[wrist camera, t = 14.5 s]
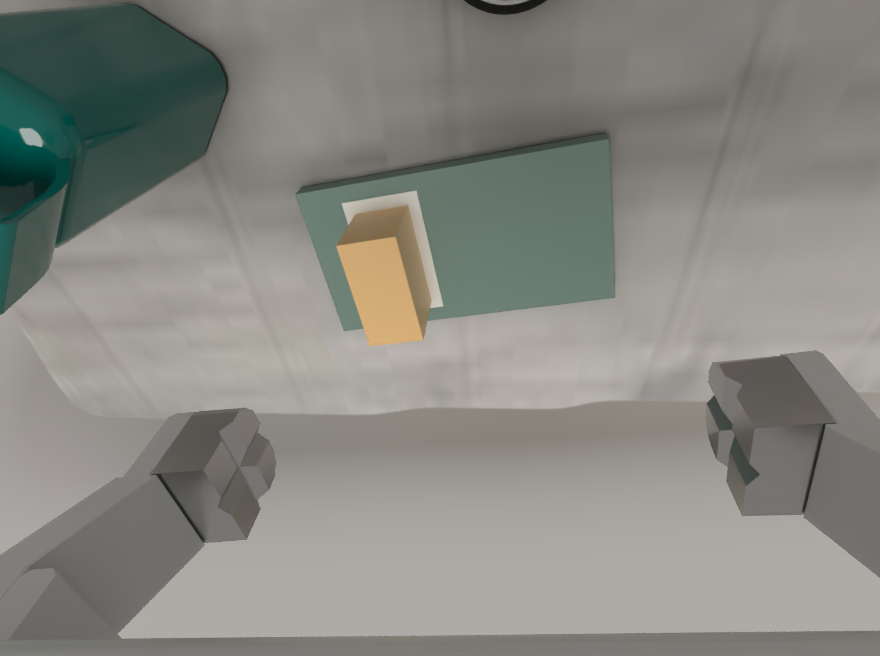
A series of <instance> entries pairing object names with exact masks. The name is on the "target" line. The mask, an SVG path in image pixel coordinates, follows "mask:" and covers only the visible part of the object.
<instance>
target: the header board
mask: <svg viewBox="0 0 880 656" xmlns="http://www.w3.org/2000/svg"><path fill="white" fill-rule="evenodd" d="M295 195H296V197H297V200H298V203H299V206H300V209H301V211H302V214H303V217H304V220H305V223H306V225H307V228H308V231H309V234H310V237H311V240H312V242H313V245H314V248H315V251H316V254H317V256H318V259H319V262H320V265H321V268H322V270H323V273H324V276H325V279H326V282H327V284H328V287H329V290H330V293H331V296H332V298H333V301H334V304H335V307H336V310H337V313H338V315H339V318H340V321H341V324H342V327H343V329H344V331H348V330H356V329H364V328H363V325H362V322H361V319H360V316H359V313H358V310H357V307H356V304H355V301H354V298H353V295H352V292H351V289H350V286H349V283H348V280H347V277H346V274H345V271H344V268H343V265H342V262H341V259H340V256H339V253H338V250H337V247H336V245H337V244H338V242H339V240H340V239H341V237H342V235H343V234H344V232H345V230H346V229H347V227H348V225H349V224H350V222H351V220H352V219H353V217H354V215H355V214H359V213H365V212H371V211H377V210H383V209H389V208H395V207H400V206H406V205H408V207H409V211H410V215H411V219H412V223H413V227H414V231H415V235H416V240H417V244H418V248H419V252H420V256H421V260H422V264H423V268H424V272H425V276H426V280H427V284H428V288H429V292H430V296H431V300H432V301H431V306H430V311H429V315H428V320H427V321H429V320H437V319H445V318H453V317H461V316H470V315H478V314H486V313H494V312H502V311H510V310H518V309H526V308H534V307H542V306H551V305H559V304H567V303H575V302H583V301H591V300H599V299H607V298H615V280H614V252H613V224H612V197H611V169H610V142H609V137H608V136H607V134H606V133H603V134H597V135H592V136H586V137H581V138H575V139H570V140H564V141H558V142H553V143H547V144H542V145H536V146H531V147H525V148H519V149H514V150H508V151H503V152H497V153H491V154H486V155H480V156H475V157H469V158H464V159H458V160H452V161H447V162H441V163H436V164H430V165H425V166H419V167H413V168H408V169H402V170H397V171H391V172H385V173H380V174H374V175H369V176H363V177H358V178H352V179H346V180H341V181H335V182H330V183H324V184H319V185H313V186H307V187H302V188H301V189H300V190H299V191H298V192H297V193H296V194H295Z"/></svg>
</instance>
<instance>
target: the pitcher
mask: <svg viewBox="0 0 880 656" xmlns="http://www.w3.org/2000/svg"><path fill="white" fill-rule="evenodd" d="M225 94H226V78H225V75H224V73H223V70H222V68H221V65H220V64H219V63H218V61H217V60H216V59H215V58H214V56H213V55H212V54H211V53H210V52H208V51H207V50H205V49H203V48H202V47H200V46H199V45H197V44H196V43H194V42H192V41H191V40H189V39H188V38H186V37H185V36H183V35H181V34H180V33H178V32H177V31H175V30H174V29H172V28H170V27H169V26H167V25H166V24H164V23H162V22H161V21H159V20H158V19H156V18H155V17H153V16H151V15H150V14H148V13H147V12H145V11H144V10H142V9H140V8H139V7H137V6H136V5H131V4H126V3H114V4H103V5H91V6H79V7H67V8H56V9H44V10H32V11H21V12H9V13H0V315H1V314H3V313H4V312H5V311H6V310H7V309H9V308H10V307H11V306H12V305H13V304H14V303H15V302H16V301H17V300H18V299H20V298H21V297H22V296H23V295H24V294H25V293H26V292H27V291H28V290H29V289H30V288H32V287H33V286H34V285H35V284H36V283H37V282H38V281H39V280H40V279H41V278H42V277H43V276H44V274H45V273H46V272H47V270H48V269H49V267H50V264H51V261H52V257H53V253H54V248H58V247H60V246H62V245H64V244H65V243H67V242H69V241H70V240H72V239H73V238H75V237H77V236H78V235H80V234H81V233H83V232H85V231H86V230H88V229H89V228H91V227H93V226H94V225H96V224H97V223H99V222H100V221H102V220H104V219H105V218H107V217H108V216H110V215H112V214H113V213H115V212H116V211H118V210H120V209H121V208H123V207H124V206H126V205H128V204H129V203H131V202H132V201H134V200H136V199H137V198H139V197H140V196H142V195H143V194H145V193H147V192H148V191H150V190H151V189H153V188H155V187H156V186H158V185H159V184H161V183H163V182H164V181H166V180H167V179H169V178H171V177H172V176H174V175H175V174H177V173H179V172H180V171H182V170H183V169H185V168H186V167H188V166H190V165H191V164H193V163H194V162H196V161H197V160H198V159H200V158H201V157H202V156H203V155H204V153H205V150H206V147H207V145H208V142H209V139H210V136H211V133H212V131H213V128H214V125H215V122H216V119H217V117H218V114H219V111H220V108H221V105H222V103H223V100H224V97H225Z"/></svg>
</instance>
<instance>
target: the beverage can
mask: <svg viewBox="0 0 880 656" xmlns="http://www.w3.org/2000/svg"><path fill="white" fill-rule="evenodd" d="M464 1H466V2H467V3H468V4H470V5H472V6H473V7H475V8H477V9H480V10H482V11H485V12H488V13H493V14H516V13H520V12H524V11H527V10H530V9H532V8H534V7H536V6H538V5H540V4H542V3H543V2H545V1H546V0H464Z"/></svg>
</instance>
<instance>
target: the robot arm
mask: <svg viewBox="0 0 880 656" xmlns="http://www.w3.org/2000/svg"><path fill="white" fill-rule="evenodd" d="M708 383H709V385H710V387H711V389H712V391H713V393H714V396H713V397H712V398H711V399H710V401H709V402H708V403H707V409H706V423H707V430H708V437H709V440H710V443H711V446H712V449H713V452H714V454H715V456H716V459H717V460H718V461H720V462H721V463H723V464H724V465H726V466H727V467H728V471H727V483H728V486H729V488H730V490H731V492H732V495H733V497H734V499H735V501H736V503H737V506H738V508H739V510H740V512H741V515H742V516H757V515H758V516H760V515H804V518H805V519H807V520H808V521H809V522H810V523H812V524H813V525H814V526H816V527H817V528H818V529H819V530H820V531H822V532H823V533H824V534H825V535H827V536H828V537H829V538H830V539H832V540H833V541H834V542H836V543H837V544H838V545H839V546H841V547H842V548H843V549H844V550H846V551H847V552H848V553H849V554H851V555H852V556H853V557H854V558H856V559H857V560H858V561H860V562H861V563H862V564H863V565H865V566H866V567H867V568H869V569H870V570H871V571H872V572H873V573H875V574H876V575H877V576H878V577H880V419H879V418H878V417H877V416H876V415H875V414H874V412H873V411H872V410H871V409H870V408H869V407H868V405H867V404H866V403H865V402H864V401H863V400H862V398H861V397H860V396H859V395H858V394H857V393H856V391H855V390H854V389H853V388H852V387H851V386H850V384H849V383H848V382H847V381H846V380H845V379H844V377H843V376H842V375H841V374H840V373H839V372H838V371H837V369H836V368H835V367H834V366H833V365H832V364H831V362H830V361H829V360H828V359H827V358H826V357H825V355H824V354H823V353H820V352H818V351H816V350H815V351H807V352H799V353H790V354H782V355H780V356H772V357H762V358H752V359H742V360H733V361H723V362H713V363H712V365H711V367H710V370H709V380H708ZM259 426H260V422H259V420H258V418H257V417H256V415H255V413H254V411H253V410H250V409H247V408H238V409H224V410H210V411H199V412H188V413H177V414H175V415H173V416H170V417H168V419H167V420H166V422H165V423H164V424H163V426H162V427H161V428H160V429H159V431H158V432H157V433H156V435H155V436H154V438H153V439H152V440H151V441H150V443H149V444H148V445H147V447H146V448H145V449H144V450H143V452H142V453H141V454H140V456H139V457H138V459H137V460H136V461H135V462H134V464H133V465H132V466H131V468H130V469H129V470H128V472H127V473H126V474H125V476H124V477H122V478H115V479H114V480H112V481H111V482H109V483H108V484H106V485H105V486H103V487H102V488H100V489H99V490H97V491H96V492H94V493H93V494H91V495H90V496H88V497H86V498H85V499H84V500H82V501H80V502H79V503H78V504H76V505H75V506H73V507H72V508H70V509H69V510H67V511H66V512H64V513H62V514H61V515H59V516H58V517H57V518H55V519H53V520H52V521H51V522H49V523H47V524H46V525H44V526H43V527H42V528H40V529H38V530H37V531H35V532H34V533H32V534H31V535H30V536H28V537H26V538H25V539H23V540H22V541H20V542H19V543H18V544H16V545H14V546H13V547H11V548H10V549H8V550H7V551H5V552H4V553H2V554H1V555H0V656H880V631H811V632H810V631H807V632H719V633H718V632H716V633H715V632H714V633H713V632H712V633H711V632H710V633H631V634H629V633H626V634H625V633H623V634H544V635H543V634H539V635H458V636H457V635H456V636H455V635H453V636H355V637H354V636H353V637H348V636H347V637H249V638H248V637H247V638H151V639H121V637H119V635H118V633H119V632H120V631H121V630H122V629H123V628H124V627H125V626H126V625H127V624H128V623H129V622H130V621H131V620H132V618H134V616H136V615H137V614H138V613H139V612H140V611H141V610H142V608H143V607H144V606H145V605H146V604H147V603H148V602H149V601H150V600H151V599H152V598H153V597H154V596H155V595H156V594H157V593H158V592H159V591H160V590H161V589H162V588H163V587H164V586H165V585H166V584H167V583H168V582H169V581H170V580H171V579H172V578H173V577H174V576H175V575H176V574H177V573H178V572H179V571H180V570H181V569H182V568H183V567H184V566H185V565H186V564H187V563H188V562H189V560H191V559H192V558H193V557H194V555H196V553H197V552H198V551H199V550H200V549H201V548H202V547H203V546H204V543H208V542H222V541H234V540H246V539H247V538H248V535H249V533H250V531H251V529H252V527H253V524H254V522H255V520H256V518H257V516H258V513H259V511H260V506H259V503H258V500H257V499H259V498H260V497H261V496H262V495H263V494H264V493H265V492H267V491H268V490H269V489H270V486H271V484H272V481H273V479H274V477H275V467H276V459H275V454H274V450H273V448H272V446H271V443H270V441H269V440H268V439H266V438H264V437H263V436H261V435H260V434H259V433H257V432H258V429H259Z"/></svg>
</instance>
